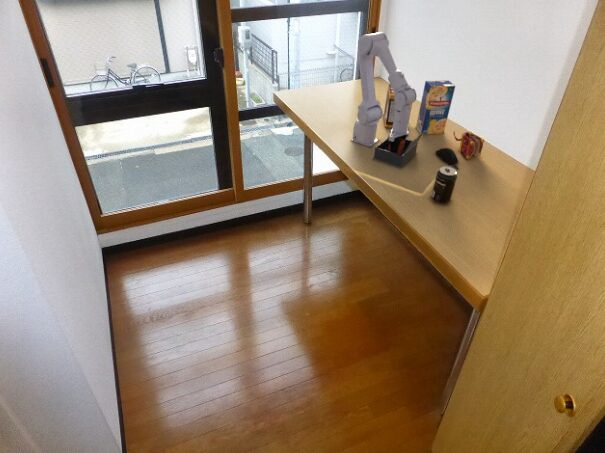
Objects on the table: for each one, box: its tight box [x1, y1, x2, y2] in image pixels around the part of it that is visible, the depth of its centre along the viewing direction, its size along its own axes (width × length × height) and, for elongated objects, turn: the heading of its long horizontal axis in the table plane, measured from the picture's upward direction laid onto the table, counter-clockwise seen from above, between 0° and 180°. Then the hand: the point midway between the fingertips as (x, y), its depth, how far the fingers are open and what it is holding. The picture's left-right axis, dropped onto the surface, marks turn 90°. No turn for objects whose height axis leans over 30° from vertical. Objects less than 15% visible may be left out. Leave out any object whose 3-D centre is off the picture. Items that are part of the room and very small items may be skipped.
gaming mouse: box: [435, 147, 459, 170], centre depth 175 cm, size 6×15×4 cm, turn 15°
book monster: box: [452, 130, 485, 160], centre depth 178 cm, size 11×9×12 cm
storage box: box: [373, 137, 419, 168], centre depth 176 cm, size 15×12×6 cm
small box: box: [388, 138, 405, 155], centre depth 174 cm, size 5×4×6 cm
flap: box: [403, 130, 426, 155], centre depth 169 cm, size 15×6×1 cm
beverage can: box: [430, 166, 458, 204], centre depth 149 cm, size 7×7×12 cm
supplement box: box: [383, 83, 413, 129], centre depth 200 cm, size 10×15×16 cm
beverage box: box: [415, 80, 456, 135], centre depth 191 cm, size 7×11×22 cm, turn 98°
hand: (395, 150), depth 176 cm, fingers closed on small box, 4 cm apart
